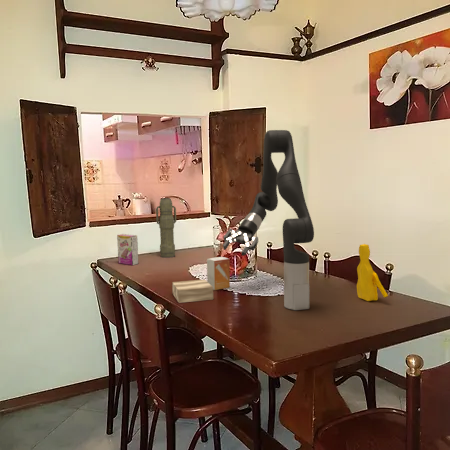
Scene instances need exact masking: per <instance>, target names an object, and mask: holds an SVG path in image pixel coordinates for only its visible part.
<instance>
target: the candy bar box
mask: <svg viewBox="0 0 450 450" xmlns="http://www.w3.org/2000/svg"><path fill="white" fill-rule="evenodd" d="M116 239H117V242H116V243H117V257H118V258H117V259H118V264H120V265H121V264H122V265H128V266H136V265H139V247H138V246H139V245H138V244H139V243H138V235H137V234H129V233H128V234H126V233H121V234H117V236H116Z"/></svg>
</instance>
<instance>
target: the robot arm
mask: <svg viewBox="0 0 450 450" xmlns="http://www.w3.org/2000/svg"><path fill="white" fill-rule="evenodd" d="M294 147H295V146H294V141H293V136H292V134H291V132H290V131H289V130H287V129H271V130H267V131H266V132H265V134H264V139H263V157H262V158H263V162H262V163H263V164H262V165H263V167H262V169H263V170H262V178H261V184H260V190H261V191H259V192H258V193H257V194H256V195H255V199H254V202H253V206H252V208H251V209H250V211H249V212H248V214H247V215H246V216H245V218H244V219H243V220H242V222H241V223H240V224H239V226H238V227H237V229H236V230H233V228H229V229H228V230H227V231H226V233H225V234H224V235H223V240H224V241H223V242H224V243H223V244H222V247H223V250H224V251H226V250H227V248H228V247H229V245H230V244H232V243H233V244H234V243H236V242H237V243H241V244H242V245H244V244H245V246H244V248H243V249H242V251H241V252H240V253H241V256H242V257H243V256H246V255H247V253H248V252H249V251H250V250H251V251H255V249H256V247H257V245H258V243H259V237H258V236H255V235H256V233H257V232H258V231H259V230H260V226H261V225H262V223H263V221H264V220H265V218H266V217H267V211H268V212H274V210H277V207H278V205H279V198H278V194H279V195H280V197H281V198H282V199H283V200H284V201H285V203H287V204H288V205H289V206H290V207H291V209H293V211H294V212H295V214H296V216H297V218H296V217H295V218H286V219H285V220H283V223H282V241H283V244H282V245H283V247H282V248H283V302H284V303H283V304H284V305H283V306H284V308H285V309H289V310H292V311H301V310H309V309H310V255H309V253H307V252H304V251H302V250H298V249H297V248H296V247H295V244H307V243H311V242H313V241H314V237H315V229H314V225H313V221H312V218H311V215H310V211H309V209H308V206H307V203H306V199H305V194H304V189H303V185H302V181H301V176H300V172H299V170H298V165H297V161H296V153H295V149H294ZM274 153H275V154H282V153H283V154H284V160H283V163H282V164H281V166H280V168H279V170H278V169H277V168H276V166H275V164H274V162H273V159H272V154H274ZM277 191H278V192H277ZM250 242H252V243H251V244H250Z"/></svg>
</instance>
